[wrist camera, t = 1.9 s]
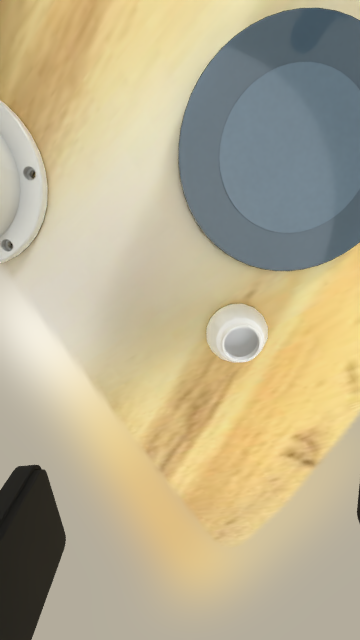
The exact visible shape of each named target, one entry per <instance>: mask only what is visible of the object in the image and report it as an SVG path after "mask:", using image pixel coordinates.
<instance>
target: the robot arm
mask: <svg viewBox="0 0 360 640" xmlns="http://www.w3.org/2000/svg"><path fill="white" fill-rule="evenodd" d="M34 172H36V177H35V178H33V173H34ZM47 195H48V186H47V179H46V171H45V167H44V164H43V161H42V158H41V154H40V151H39V149H38V147H37V145H36V143H35V141H34V139H33V137H32V135H31V134H30V132H29V131H28V129H27V128H26V127H25V125H24V124H23V122H22V121H21V120H20V118H19V117H18V116H17V115H16V114H15V113H14V112H13V111H12V110H11V109H10V108H9V107H8V106H7V105H6V104H5V103H3V102H2V101H1V100H0V263H4V262H6V261H8V260H10V259H12V258H14V257H16V256H18V255H19V254H20V253H21V252H22V251H24V250H25V249H26V248H27V247H28V246H29V245H30V243H31V242H32V241H33V239H34V238H35V237H36V235H37V234H38V232H39V229H40V227H41V225H42V223H43V220H44V216H45V212H46V208H47ZM11 242H12V244H13V247H12V246H11ZM357 515H358V520H359V522H360V486H359V497H358V508H357ZM65 538H66V537H65V532H64V528H63V525H62V522H61V518H60V515H59V512H58V509H57V505H56V502H55V499H54V495H53V492H52V489H51V486H50V482H49V479H48V476H47V473H46V471H45V470H42V469H41V467H40V466H39V465H29V466H19V467H17V468H16V469H15V470H14V471H13V472H12V474H11V475H10V477H9V478H8V480H7V481H6V483H5V484H4V486H3V487H2V489H1V490H0V640H31V639H32V636H33V634H34V631H35V628H36V625H37V623H38V620H39V617H40V614H41V611H42V609H43V606H44V603H45V600H46V598H47V595H48V592H49V589H50V587H51V584H52V581H53V578H54V575H55V573H56V570H57V567H58V564H59V562H60V559H61V556H62V553H63V550H64V547H65V541H66V539H65Z"/></svg>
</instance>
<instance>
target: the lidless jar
mask: <svg viewBox="0 0 360 640" xmlns="http://www.w3.org/2000/svg"><path fill="white" fill-rule="evenodd" d="M206 332H207V342H208V344H209V346H210V348H211V350H212V352H213V353H214V354H216V355H217V356H218V357H219V358H220V359H223V360H226V361H229V362H247V361H250V360H252V359H253V358H255V357H256V356H257V355H258V353H260V352H261V350H262V349H263V347H264V345H265V343H266V341H267V339H268V326H267V324H266V321H265V319H264V317H263V315H262V314H260V313H259V312H258V311H257V310H256V309H255V308H254V307H251V306H248V305H245V304H230V305H228V306H225V307H223V308H221V309H219V310H218V311H217V312H216V313H215V314H214V315H213V316H212V317H211V318H210V321H209V323H208V326H207V329H206Z"/></svg>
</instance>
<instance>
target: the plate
mask: <svg viewBox="0 0 360 640" xmlns="http://www.w3.org/2000/svg"><path fill="white" fill-rule="evenodd" d="M179 171H180V179H181V184H182V188H183V193H184V196H185V199H186V202H187V204H188V207H189V210H190V212H191V213H192V215H193V217H194V219H195V221H196V223H197V224H198V226H199V227H200V228H201V230H202V231H203V233H204V234H205V235H206V236H207V237H208V238H209V239H210V240H211V241H212V242H213V244H215V245H216V246H217V247H218V248H220V249H221V250H222V251H223V252H225V253H226V254H228V255H229V256H231V257H233V258H234V259H236V260H238V261H240V262H243V263H245V264H247V265H250V266H253V267H257V268H260V269H266V270H273V271H293V270H301V269H306V268H310V267H314V266H318V265H320V264H323V263H325V262H328V261H331V260H333V259H334V258H336V257H338V256H340V255H342V254H344V253H345V252H347V251H348V250H350V249H351V248H353V247H354V246H356V245H357V244H358V243H359V242H360V20H358V19H356V18H354V17H352V16H350V15H347V14H344V13H341V12H338V11H335V10H329V9H323V8H299V9H293V10H287V11H283V12H280V13H277V14H274V15H271V16H268V17H265V18H264V19H262V20H260V21H258V22H256V23H254V24H252V25H250V26H248V27H247V28H246V29H244V30H243V31H241V32H240V33H238V34H237V35H236V36H234V37H233V38H232V39H231V40H230V41H229V42H228V43H227V44H226V45H225V46H223V47H222V48H221V49H220V51H219V52H218V53H217V54H216V55H215V57H214V58H213V59H212V60H211V61H210V62H209V64H208V65H207V67H206V68H205V70H204V72H203V73H202V75H201V76H200V78H199V79H198V81H197V83H196V85H195V87H194V89H193V91H192V93H191V96H190V98H189V101H188V104H187V107H186V110H185V113H184V117H183V121H182V125H181V130H180V139H179Z"/></svg>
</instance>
